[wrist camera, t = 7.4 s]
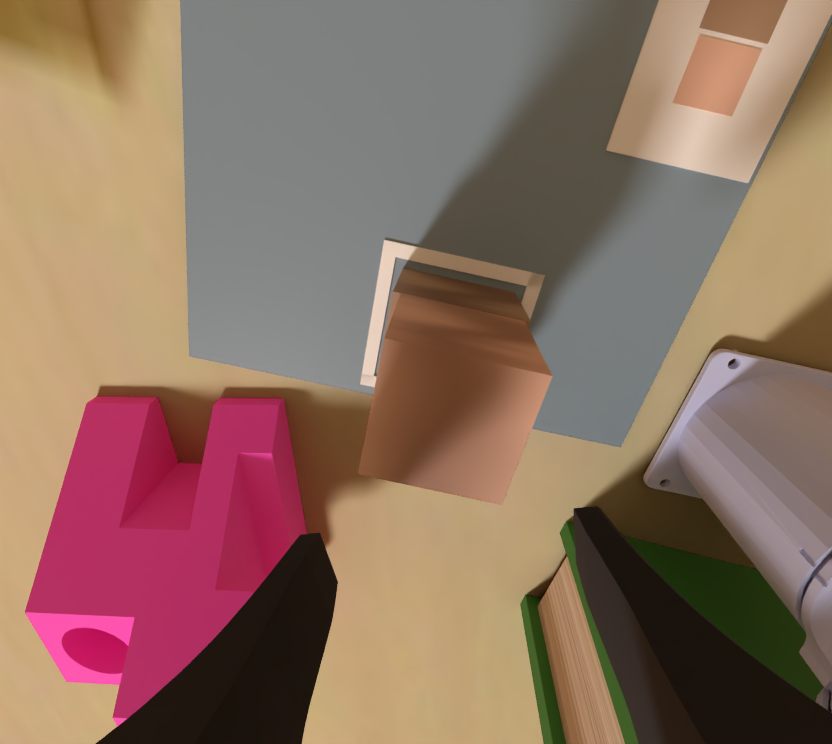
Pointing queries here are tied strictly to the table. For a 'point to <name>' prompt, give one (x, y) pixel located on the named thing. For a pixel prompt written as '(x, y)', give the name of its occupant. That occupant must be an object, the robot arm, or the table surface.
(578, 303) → the mat
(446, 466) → the terracotta block
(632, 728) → the hardback book
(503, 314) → the walnut block
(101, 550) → the bracket
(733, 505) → the robot arm
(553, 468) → the table surface
